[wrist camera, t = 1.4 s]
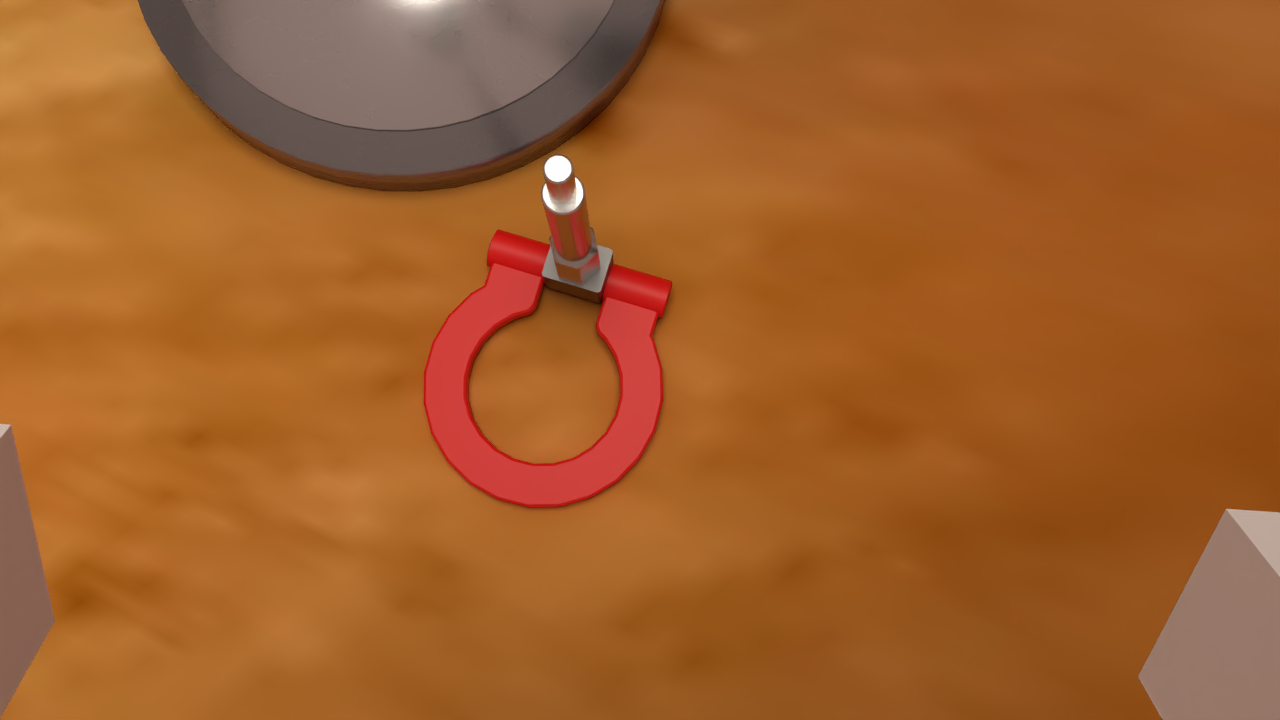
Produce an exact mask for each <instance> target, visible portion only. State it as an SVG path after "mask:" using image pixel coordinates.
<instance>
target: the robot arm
mask: <svg viewBox="0 0 1280 720" xmlns="http://www.w3.org/2000/svg"><path fill="white" fill-rule="evenodd" d="M54 622H55V619H54V615H53V610H52V606H51V601H50V597H49V592H48V588H47V584H46V579H45V575H44V570H43V566H42V561H41V557H40V552H39V548H38V543H37V539H36V534H35V530H34V525H33V521H32V517H31V512H30V508H29V503H28V499H27V494H26V490H25V485H24V481H23V476H22V472H21V467H20V463H19V458H18V454H17V450H16V445H15V441H14V436H13V432H12V427H11V425H7V424H0V717H1V716H2V714H3V712H4V710H5V709H6V707H7V705H8V703H9V701H10V700H11V698H12V696H13V694H14V693H15V691H16V689H17V687H18V686H19V684H20V682H21V680H22V678H23V677H24V675H25V673H26V671H27V670H28V668H29V666H30V664H31V663H32V661H33V659H34V657H35V656H36V654H37V652H38V650H39V648H40V647H41V645H42V643H43V641H44V640H45V638H46V636H47V634H48V633H49V631H50V629H51V627H52V625H53V624H54ZM1138 678H1139V679H1140V681H1141V683H1142V685H1143V687H1144V688H1145V690H1146V692H1147V694H1148V695H1149V697H1150V699H1151V701H1152V702H1153V704H1154V706H1155V708H1156V710H1157V711H1158V713H1159V715H1160V717H1161V718H1162V720H1280V513H1279V512H1265V511H1250V510H1236V509H1226V510H1225V512H1224V513H1223V515H1222V517H1221V519H1220V521H1219V523H1218V525H1217V527H1216V529H1215V531H1214V533H1213V534H1212V536H1211V538H1210V540H1209V542H1208V544H1207V546H1206V548H1205V550H1204V552H1203V554H1202V556H1201V557H1200V559H1199V561H1198V563H1197V565H1196V567H1195V569H1194V571H1193V573H1192V575H1191V577H1190V578H1189V580H1188V582H1187V584H1186V586H1185V588H1184V590H1183V592H1182V594H1181V596H1180V598H1179V599H1178V601H1177V603H1176V605H1175V607H1174V609H1173V611H1172V613H1171V615H1170V617H1169V619H1168V620H1167V622H1166V624H1165V626H1164V628H1163V630H1162V632H1161V634H1160V636H1159V638H1158V640H1157V641H1156V643H1155V645H1154V647H1153V649H1152V651H1151V653H1150V655H1149V657H1148V659H1147V661H1146V663H1145V664H1144V666H1143V668H1142V670H1141V672H1140V674H1139V676H1138Z"/></svg>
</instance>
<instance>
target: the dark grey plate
mask: <svg viewBox="0 0 1280 720" xmlns="http://www.w3.org/2000/svg"><path fill="white" fill-rule="evenodd" d="M138 2H139V5H140V8H141V10H142V13H143V16H144V19H145V21H146V23H147V25H148V27H149V29H150V31H151V33H152V34H153V36H154V38H155V40H156V42H157V44H158V46H159V47H160V49H161V51H162V52H163V54H164V55H165V57H166V58H167V59H168V61H169V62H170V63H171V65H172V66H173V67H174V69H175V70H176V71H177V73H178V74H179V75H180V77H181V78H182V79H183V80H184V82H185V83H186V84H187V85H188V86H189V87H190V88H191V90H192V91H193V92H194V93H195V94H196V95H197V96H198V97H199V99H200V100H201V101H202V102H203V103H204V104H205V105H206V106H207V107H208V108H209V109H210V110H211V111H212V112H213V113H214V114H215V115H216V116H217V117H218V118H219V119H220V120H221V121H222V122H223V123H224V124H225V125H226V126H227V127H228V128H229V129H231V130H232V131H233V132H235V133H236V134H237V135H239V136H240V137H241V138H242V139H244V140H245V141H246V142H248V143H249V144H250V145H252V146H253V147H255V148H256V149H258V150H260V151H262V152H263V153H265V154H267V155H269V156H270V157H272V158H274V159H276V160H277V161H279V162H281V163H282V164H285V165H287V166H290V167H292V168H295V169H297V170H299V171H302V172H304V173H307V174H309V175H312V176H314V177H317V178H321V179H325V180H329V181H332V182H336V183H340V184H343V185H347V186H353V187H360V188H368V189H375V190H382V191H425V190H434V189H443V188H452V187H458V186H462V185H466V184H470V183H474V182H478V181H482V180H487V179H490V178H493V177H496V176H498V175H501V174H504V173H506V172H509V171H511V170H514V169H517V168H519V167H522V166H524V165H526V164H528V163H530V162H532V161H534V160H535V159H537V158H539V157H541V156H543V155H545V154H547V153H549V152H551V151H552V150H554V149H556V148H557V147H558V146H560V145H561V144H563V143H564V142H565V141H567V140H568V139H570V138H571V137H573V136H574V135H575V134H577V133H578V132H580V131H581V130H582V129H583V128H584V127H585V126H587V125H588V124H589V123H590V122H591V121H592V120H593V119H594V118H595V117H596V116H597V115H599V114H600V113H601V112H602V111H603V110H604V109H605V108H606V107H607V106H608V105H609V103H610V102H611V101H612V100H613V99H614V97H615V96H616V95H617V94H618V93H619V91H620V90H621V89H622V88H623V87H624V85H625V84H626V83H627V82H628V80H629V79H630V77H631V75H632V74H633V72H634V71H635V69H636V67H637V66H638V64H639V63H640V61H641V59H642V58H643V56H644V55H645V53H646V50H647V48H648V46H649V44H650V41H651V39H652V37H653V35H654V32H655V30H656V28H657V26H658V23H659V19H660V16H661V12H662V9H663V5H664V2H665V0H138Z"/></svg>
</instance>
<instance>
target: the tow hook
mask: <svg viewBox="0 0 1280 720" xmlns="http://www.w3.org/2000/svg"><path fill="white" fill-rule="evenodd" d="M543 175H544V179H545V182H544V184H543V186H542V190H541V198H542V202H543V205H544V209H545V213H546V216H547V220H548V223H549V227H550V231H551V234H552V235H551V236H550V238H549V240H550V245H549V244H545V243H542V242H539V241H535V240H532V239H529V238H525V237H522V236H519V235H515V234H512V233H509V232H505V231H502V230H497V231H496V233H495V235H494V236H493V238H492V240H491V243H490V246H489V250H488V256H487V266H489V267H490V270H489V273H488V276H487V279H486V282H485V285H484V286H483V287H481V288H480V289H478V290H476V291H474V292H473V293H471V294H470V295H469V296H468V297H467V298H466V299H465V300H464V301H463V302H462V303H461V304H460V305H459V306H458V307H457V308H456V309H455V310H454V311H453V312H452V313H451V314H450V315H449V316H448V317H447V319H446V321H445V322H444V324H443V326H442V327H441V329H440V331H439V332H438V334H437V336H436V338H435V339H434V341H433V343H432V346H431V350H430V354H429V357H428V361H427V364H426V368H425V371H424V406H425V410H426V414H427V418H428V422H429V426H430V430H431V434H432V435H433V437H434V439H435V441H436V442H437V444H438V446H439V448H440V449H441V451H442V453H443V455H444V456H445V458H446V460H447V461H448V462H449V463H450V464H451V465H452V466H453V467H454V468H455V469H456V470H457V471H458V472H459V473H460V474H461V475H462V476H463V477H464V478H465V479H466V480H467V481H468V482H469V483H470V484H472V485H473V486H475V487H477V488H479V489H480V490H482V491H484V492H486V493H487V494H489V495H491V496H493V497H494V498H496V499H499V500H503V501H507V502H511V503H515V504H519V505H523V506H526V507H553V506H564V505H567V504H571V503H574V502H578V501H581V500H585V499H588V498H591V497H593V496H595V495H596V494H598V493H600V492H601V491H603V490H605V489H606V488H608V487H610V486H611V485H613V484H615V483H616V482H618V481H619V480H620V479H621V478H622V477H623V476H624V475H625V474H626V473H627V472H628V471H629V470H630V469H631V468H632V467H633V466H634V464H635V463H636V462H637V461H638V460H639V459H640V458H641V456H642V454H643V452H644V450H645V449H646V447H647V445H648V443H649V441H650V440H651V438H652V436H653V434H654V432H655V429H656V425H657V421H658V418H659V414H660V410H661V406H662V402H663V383H662V367H661V363H660V360H659V356H658V353H657V349H656V346H655V342H654V339H653V338H652V335H653V331H654V328H655V325H656V322H657V318H662V316H663V314H664V311H665V308H666V305H667V302H668V298H669V295H670V291H671V288H672V281H669V280H666V279H662V278H659V277H656V276H652V275H649V274H646V273H642V272H639V271H636V270H632V269H629V268H625V267H622V266H619V265H615V264H613V251H612V250H611V249H609V248H606V247H602V246H599V245H597V243H596V239H595V235H594V231H593V228H591V227H590V225H589V217H588V210H587V203H586V195H585V189H584V186H583V183H582V182H581V181H580V179H579V178H577V177H576V176H575V174H574V168H573V164H572V162H571V161H570V159H569V158H567V157H566V156H564V155H559V154H557V155H553V156H550V157H549V158H548V159H547V160H546V161H545V162H544V165H543ZM544 283H545V284H546V286H547V287H548V288H550V289H553V290H557V291H560V292H563V293H567V294H570V295H573V296H577V297H580V298H583V299H587V300H590V301H593V302H597V303H601V302H602V301H603V304H602V307H601V310H600V313H599V316H598V320H597V323H596V328H597V331H598V334H599V336H600V337H601V338H602V339H603V340H604V341H605V342H606V344H607V346H608V347H609V349H610V351H611V352H612V354H613V356H614V357H615V360H616V363H617V367H618V370H619V374H620V386H621V396H620V400H619V404H618V408H617V411H616V415H615V417H614V419H613V420H612V422H611V424H610V426H609V428H608V429H607V431H606V433H605V434H604V435H603V436H602V437H601V438H600V439H599V440H598V441H597V442H596V443H595V444H594V445H593V446H592V447H591V448H589V449H588V450H586V451H584V452H583V453H581V454H579V455H578V456H576V457H574V458H572V459H568V460H565V461H561V462H557V463H554V464H532V463H528V462H524V461H520V460H516V459H513V458H512V457H510V456H508V455H506V454H505V453H503V452H501V451H499V450H498V449H497V448H496V447H495V446H494V445H493V444H492V443H491V442H490V441H489V440H488V439H487V438H486V437H485V436H484V435H483V434H482V432H481V430H480V428H479V427H478V425H477V423H476V421H475V420H474V418H473V414H472V410H471V406H470V402H469V377H470V373H471V370H472V366H473V362H474V360H475V358H476V356H477V354H478V353H479V351H480V349H481V348H482V346H483V344H484V343H485V342H486V341H487V340H488V339H489V338H490V337H491V336H492V335H493V334H494V333H495V332H496V331H497V330H498V329H499V328H501V327H503V326H504V325H506V324H508V323H509V322H511V321H513V320H515V319H517V318H521V317H524V316H528V315H531V314H532V313H533V312H534V311H535V310H536V308H537V305H538V302H539V299H540V296H541V293H542V290H543V286H544Z"/></svg>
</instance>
